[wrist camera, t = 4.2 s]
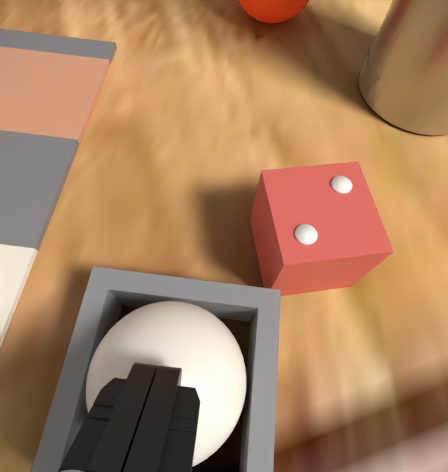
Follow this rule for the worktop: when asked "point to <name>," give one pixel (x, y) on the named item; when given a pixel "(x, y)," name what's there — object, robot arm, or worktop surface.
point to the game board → (39, 140)
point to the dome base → (152, 291)
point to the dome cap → (179, 363)
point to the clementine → (273, 9)
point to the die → (316, 228)
